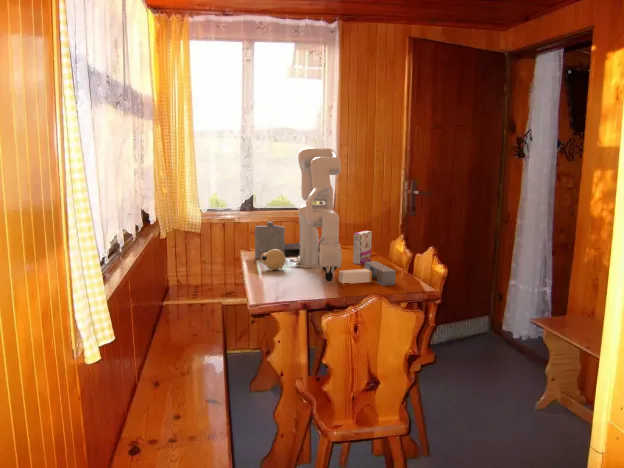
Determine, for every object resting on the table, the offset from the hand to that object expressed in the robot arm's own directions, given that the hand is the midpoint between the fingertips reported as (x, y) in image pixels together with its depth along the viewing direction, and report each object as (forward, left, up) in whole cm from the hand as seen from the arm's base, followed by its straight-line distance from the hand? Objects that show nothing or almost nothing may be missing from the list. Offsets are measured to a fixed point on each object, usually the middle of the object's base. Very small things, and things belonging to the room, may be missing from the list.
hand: (328, 280), depth 227 cm
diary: (+7, +67, -2) cm, 67 cm away
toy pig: (-18, +30, -1) cm, 35 cm away
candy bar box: (+32, +35, -1) cm, 47 cm away
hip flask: (-13, +57, -1) cm, 59 cm away
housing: (+25, 0, -1) cm, 25 cm away
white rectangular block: (+13, 0, -1) cm, 13 cm away
